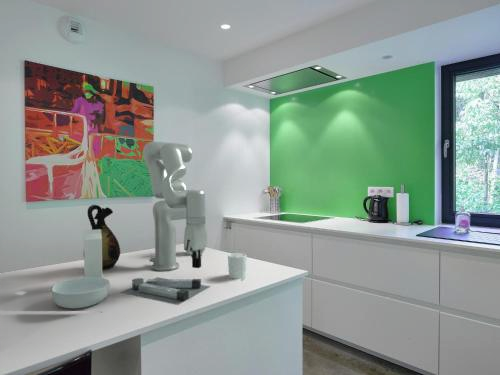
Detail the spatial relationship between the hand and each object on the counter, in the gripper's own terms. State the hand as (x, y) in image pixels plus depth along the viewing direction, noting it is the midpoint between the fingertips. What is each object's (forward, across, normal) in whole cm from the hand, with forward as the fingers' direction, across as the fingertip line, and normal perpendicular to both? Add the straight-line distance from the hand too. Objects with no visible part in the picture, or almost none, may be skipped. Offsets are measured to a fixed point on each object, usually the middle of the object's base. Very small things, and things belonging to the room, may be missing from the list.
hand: (196, 267), depth 129 cm
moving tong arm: (+6, +12, -6) cm, 14 cm away
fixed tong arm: (+6, +18, -2) cm, 19 cm away
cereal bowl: (+7, +34, -22) cm, 41 cm away
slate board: (+7, +12, -5) cm, 15 cm away
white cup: (+7, -14, +11) cm, 19 cm away
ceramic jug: (+5, +2, -51) cm, 51 cm away
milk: (+6, +20, -35) cm, 41 cm away
